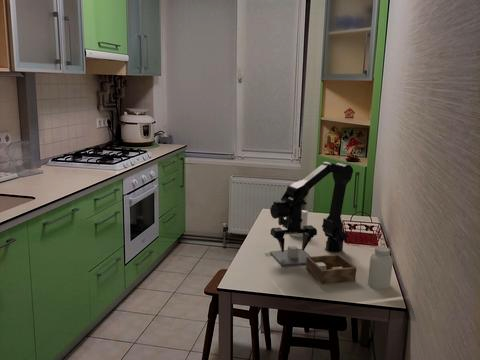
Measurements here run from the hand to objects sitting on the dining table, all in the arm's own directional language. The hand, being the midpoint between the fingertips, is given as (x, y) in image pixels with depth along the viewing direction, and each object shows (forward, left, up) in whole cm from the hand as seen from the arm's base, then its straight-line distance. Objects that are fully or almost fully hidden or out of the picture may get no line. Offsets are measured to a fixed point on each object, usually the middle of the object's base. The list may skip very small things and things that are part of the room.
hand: (292, 251), depth 196 cm
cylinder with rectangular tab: (-15, -31, -4) cm, 35 cm away
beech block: (-11, +21, -3) cm, 24 cm away
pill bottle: (-22, +31, -4) cm, 38 cm away
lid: (0, 0, -4) cm, 4 cm away
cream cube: (-5, +16, -3) cm, 17 cm away
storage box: (-8, +19, -4) cm, 21 cm away
